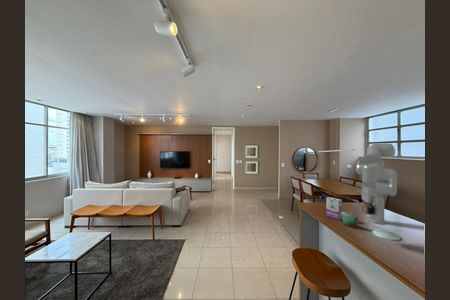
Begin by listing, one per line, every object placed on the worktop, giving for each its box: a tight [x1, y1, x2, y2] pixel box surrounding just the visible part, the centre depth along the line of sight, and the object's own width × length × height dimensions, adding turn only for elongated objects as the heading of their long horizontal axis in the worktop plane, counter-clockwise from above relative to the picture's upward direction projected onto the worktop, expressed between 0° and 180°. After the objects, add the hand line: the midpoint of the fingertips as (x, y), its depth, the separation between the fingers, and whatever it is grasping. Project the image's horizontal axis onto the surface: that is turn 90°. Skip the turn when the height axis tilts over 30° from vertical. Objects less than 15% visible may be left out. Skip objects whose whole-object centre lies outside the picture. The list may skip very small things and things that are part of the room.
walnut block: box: [361, 201, 377, 216], centre depth 123 cm, size 6×6×6 cm
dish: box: [372, 228, 401, 242], centre depth 127 cm, size 14×14×1 cm
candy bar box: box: [325, 196, 343, 221], centre depth 159 cm, size 11×5×16 cm, turn 30°
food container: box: [341, 209, 360, 229], centre depth 143 cm, size 12×6×10 cm, turn 23°
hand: (369, 211), depth 123 cm, fingers closed on walnut block, 6 cm apart
